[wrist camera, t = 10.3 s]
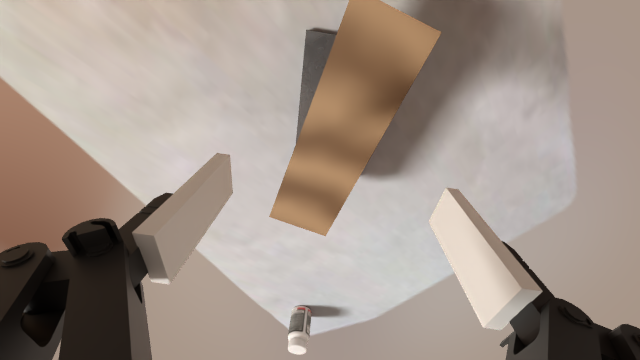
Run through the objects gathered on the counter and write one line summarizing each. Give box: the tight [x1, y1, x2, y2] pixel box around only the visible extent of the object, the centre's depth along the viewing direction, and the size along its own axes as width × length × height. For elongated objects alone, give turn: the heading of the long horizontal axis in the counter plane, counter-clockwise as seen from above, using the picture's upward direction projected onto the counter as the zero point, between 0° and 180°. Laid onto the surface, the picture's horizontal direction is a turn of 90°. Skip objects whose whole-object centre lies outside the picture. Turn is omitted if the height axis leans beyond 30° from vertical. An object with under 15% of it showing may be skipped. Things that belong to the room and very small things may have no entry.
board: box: [269, 0, 442, 236], centre depth 23 cm, size 22×7×4 cm, turn 158°
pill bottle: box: [288, 306, 311, 354], centre depth 52 cm, size 5×5×8 cm
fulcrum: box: [296, 30, 336, 143], centre depth 28 cm, size 18×10×7 cm, turn 172°
